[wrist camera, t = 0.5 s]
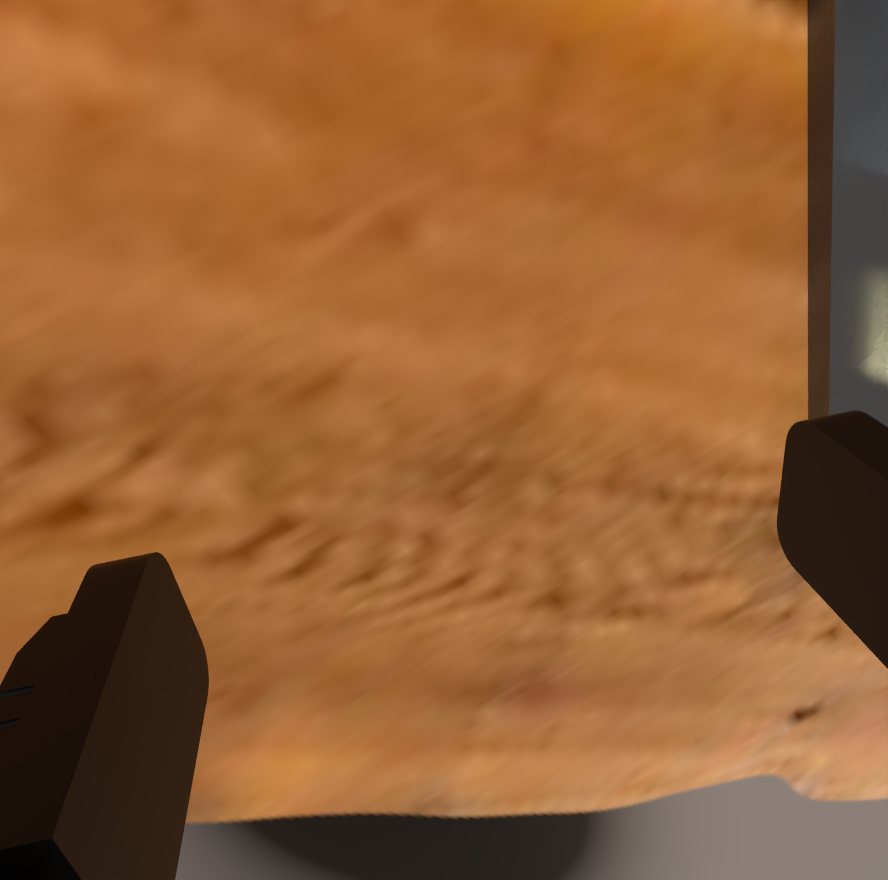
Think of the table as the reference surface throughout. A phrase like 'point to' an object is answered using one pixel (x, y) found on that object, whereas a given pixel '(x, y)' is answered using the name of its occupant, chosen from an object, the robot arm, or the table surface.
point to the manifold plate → (848, 207)
